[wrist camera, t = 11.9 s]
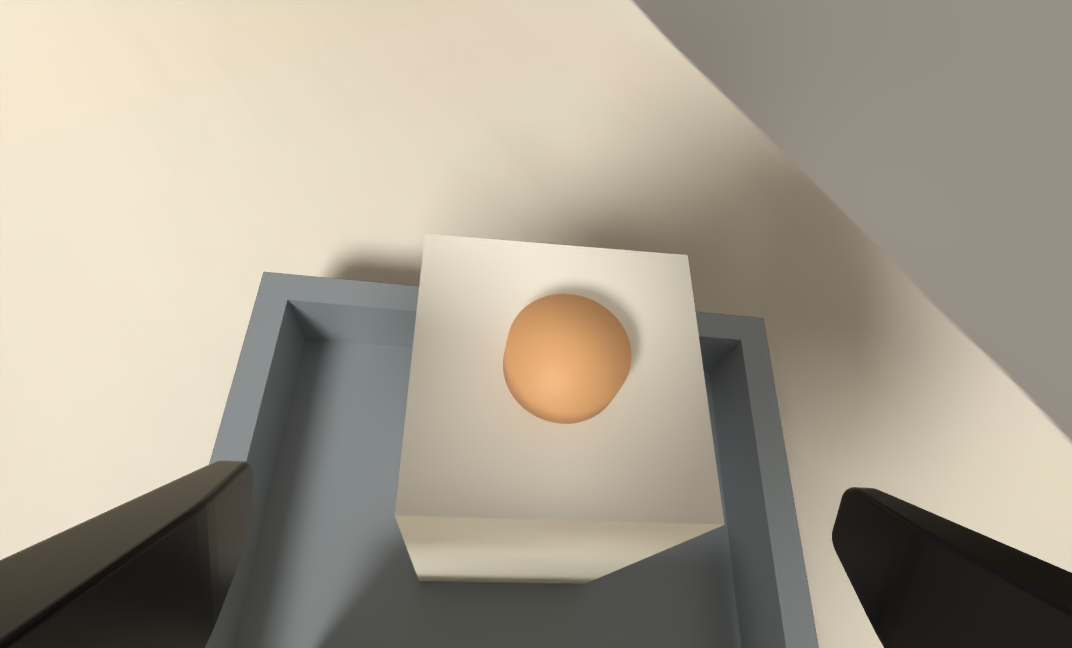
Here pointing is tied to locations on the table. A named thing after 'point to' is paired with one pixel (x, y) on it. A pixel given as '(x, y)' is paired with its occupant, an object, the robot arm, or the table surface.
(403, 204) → the table surface
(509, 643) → the tote
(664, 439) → the juice carton
